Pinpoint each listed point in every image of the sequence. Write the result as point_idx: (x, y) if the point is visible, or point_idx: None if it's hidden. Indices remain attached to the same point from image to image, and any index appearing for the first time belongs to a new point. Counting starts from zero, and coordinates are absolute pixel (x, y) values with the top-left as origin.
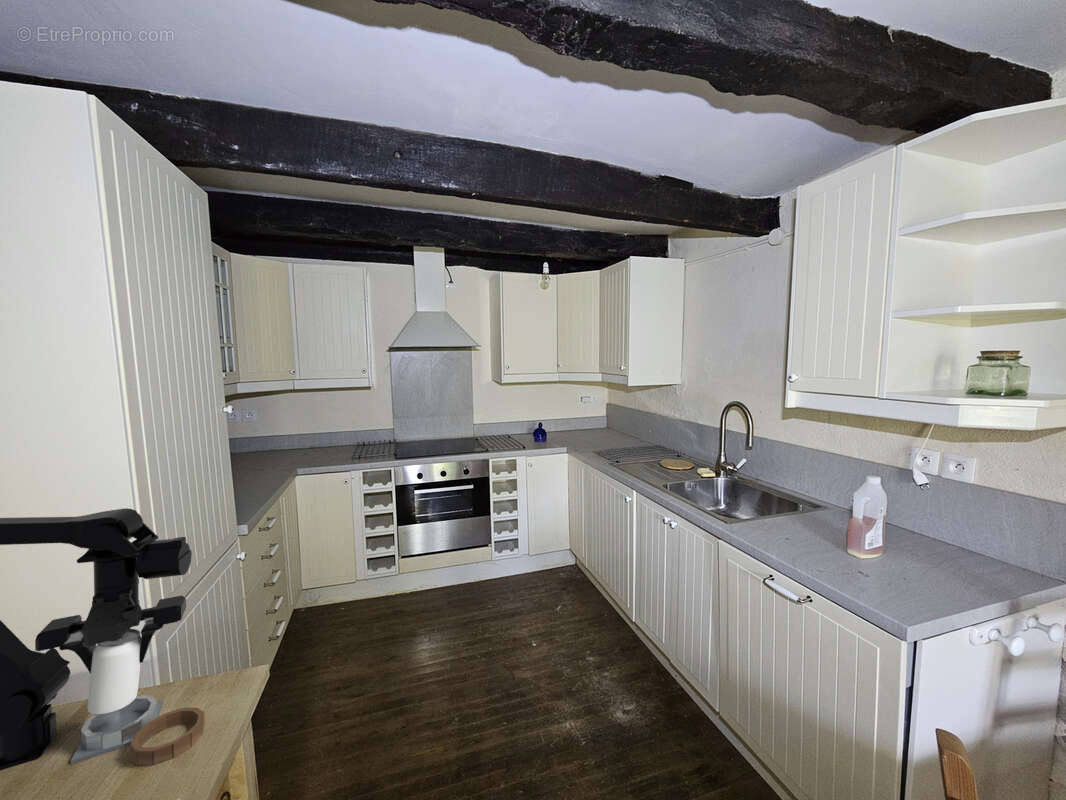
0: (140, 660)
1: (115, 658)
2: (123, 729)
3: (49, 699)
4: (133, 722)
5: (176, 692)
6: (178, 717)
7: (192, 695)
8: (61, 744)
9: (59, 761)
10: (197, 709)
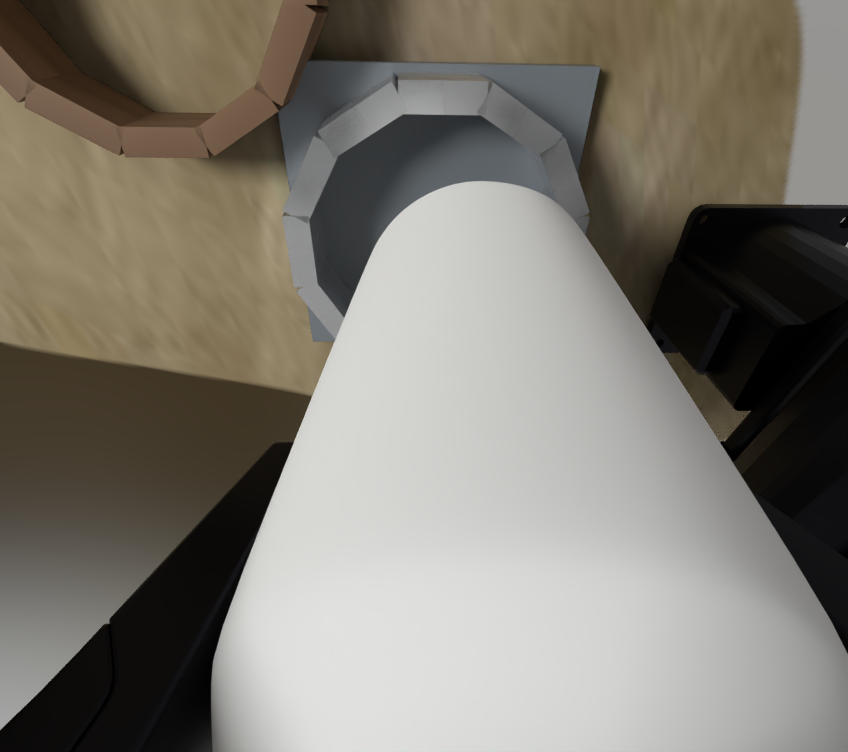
0: (281, 455)
1: (505, 482)
2: (388, 82)
3: (823, 373)
4: (350, 128)
5: (285, 377)
6: (149, 118)
7: (206, 327)
8: (628, 256)
9: (634, 127)
10: (6, 80)
